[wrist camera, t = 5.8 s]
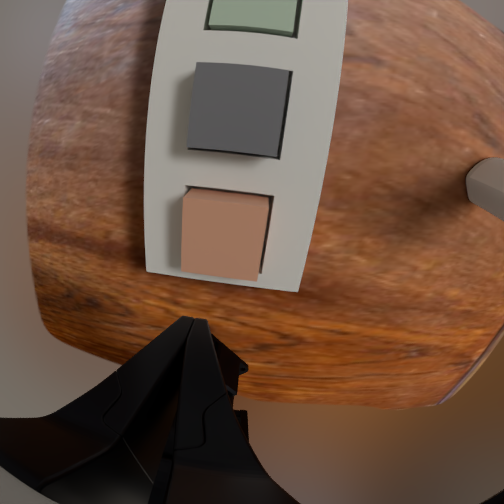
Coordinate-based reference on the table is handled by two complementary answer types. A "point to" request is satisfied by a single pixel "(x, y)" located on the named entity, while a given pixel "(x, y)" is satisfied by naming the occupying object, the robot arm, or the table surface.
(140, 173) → the table surface
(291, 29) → the sage key
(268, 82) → the charcoal key
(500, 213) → the eye dropper bottle
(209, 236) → the terracotta key
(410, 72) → the table surface
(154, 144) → the keypad frame
